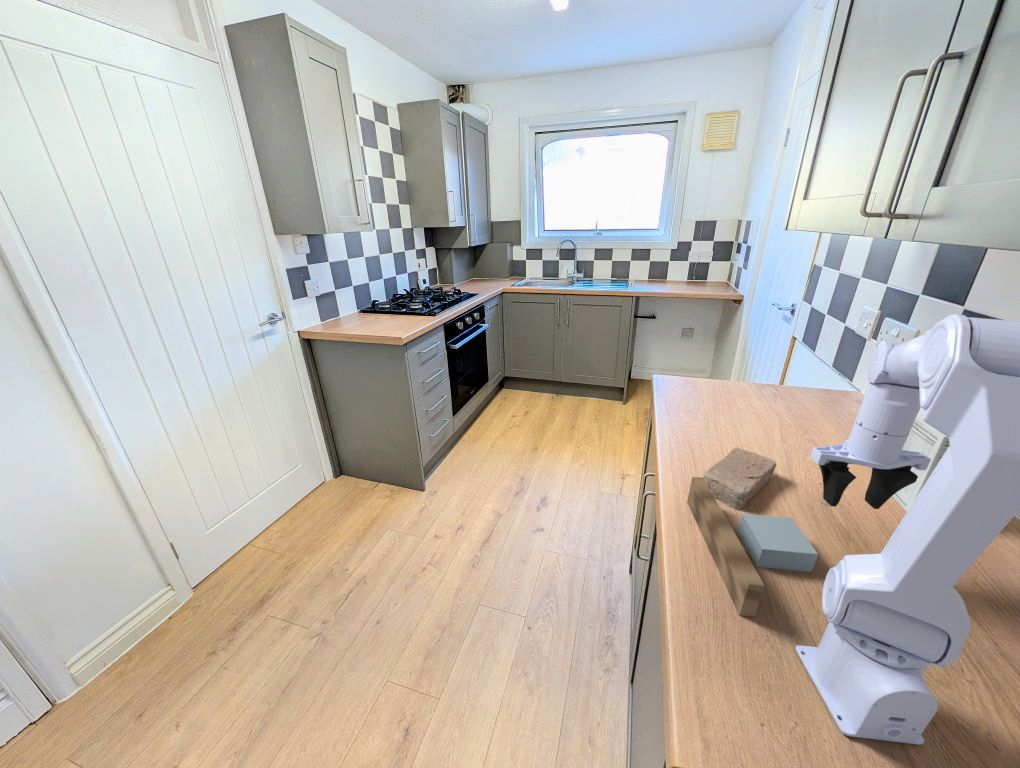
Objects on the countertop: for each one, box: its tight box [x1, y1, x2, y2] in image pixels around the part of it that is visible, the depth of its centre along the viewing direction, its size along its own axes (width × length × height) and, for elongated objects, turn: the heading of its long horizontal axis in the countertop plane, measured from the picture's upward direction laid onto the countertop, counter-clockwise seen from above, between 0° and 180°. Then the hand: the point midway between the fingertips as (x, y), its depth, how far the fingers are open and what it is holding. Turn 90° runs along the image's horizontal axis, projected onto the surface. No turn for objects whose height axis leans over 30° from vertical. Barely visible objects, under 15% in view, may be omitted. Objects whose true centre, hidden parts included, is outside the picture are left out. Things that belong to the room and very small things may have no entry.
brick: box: [702, 446, 777, 511], centre depth 81 cm, size 17×8×5 cm, turn 129°
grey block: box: [737, 513, 819, 573], centre depth 65 cm, size 8×8×4 cm
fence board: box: [686, 476, 765, 618], centre depth 64 cm, size 24×2×6 cm, turn 174°
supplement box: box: [891, 414, 950, 513], centre depth 72 cm, size 10×9×17 cm
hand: (850, 503), depth 60 cm, fingers open, 5 cm apart
